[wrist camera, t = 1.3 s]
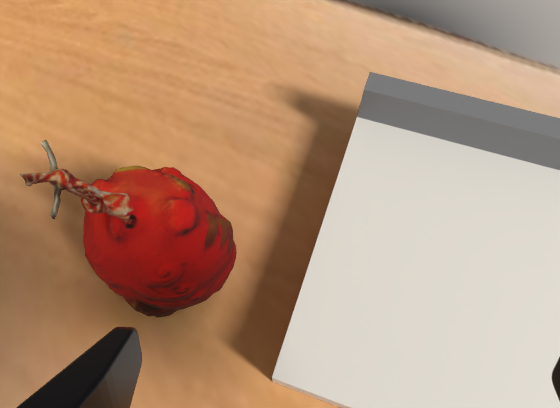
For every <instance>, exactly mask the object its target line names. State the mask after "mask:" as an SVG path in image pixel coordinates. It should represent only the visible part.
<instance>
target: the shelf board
mask: <svg viewBox="0 0 560 408" xmlns="http://www.w3.org/2000/svg"><path fill="white" fill-rule="evenodd" d="M559 357H560V118H556V117H552V116H548V115H543V114H539V113H535V112H531V111H527V110H523V109H519V108H515V107H511V106H507V105H503V104H499V103H494V102H490V101H486V100H482V99H478V98H474V97H470V96H466V95H462V94H458V93H454V92H450V91H446V90H441V89H437V88H433V87H429V86H425V85H421V84H417V83H413V82H409V81H405V80H401V79H397V78H392V77H388V76H384V75H380V74H376V73H372V72H370V73H369V76H368V79H367V82H366V85H365V88H364V92H363V96H362V100H361V104H360V108H359V111H358V115H357V119H356V122H355V125H354V128H353V131H352V134H351V137H350V140H349V143H348V146H347V149H346V152H345V155H344V158H343V162H342V165H341V168H340V171H339V174H338V177H337V180H336V183H335V186H334V189H333V192H332V195H331V198H330V201H329V204H328V207H327V210H326V214H325V217H324V220H323V223H322V226H321V229H320V232H319V235H318V238H317V241H316V244H315V247H314V250H313V253H312V256H311V259H310V262H309V265H308V269H307V272H306V275H305V278H304V281H303V284H302V287H301V290H300V293H299V296H298V299H297V302H296V305H295V308H294V311H293V314H292V317H291V321H290V324H289V327H288V330H287V333H286V336H285V339H284V342H283V345H282V348H281V351H280V354H279V357H278V360H277V363H276V366H275V369H274V372H273V376H272V380H273V382H275V383H277V384H280V385H282V386H285V387H288V388H290V389H293V390H296V391H298V392H301V393H304V394H306V395H309V396H312V397H314V398H317V399H319V400H322V401H325V402H327V403H330V404H333V405H335V406H338V407H341V408H560V401H559V399H558V396H557V394H556V391H555V389H554V386H553V383H552V371H553V369H554V367H555V365H556V363H557V361H558V359H559Z"/></svg>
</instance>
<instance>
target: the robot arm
mask: <svg viewBox="0 0 560 408" xmlns="http://www.w3.org/2000/svg"><path fill="white" fill-rule="evenodd" d="M141 364H142V352H141V347H140V342H139V337H138V332H137V330H136V329H135V328H133V327H116V328H114V329H113V330H112V331H110V332H109V333H108V334H107V335H105V336H104V337H103V338H102V339H100V340H99V341H98V342H97V343H96V344H94V345H93V346H92V347H91V348H89V349H88V350H87V351H86V352H84V353H83V354H82V355H81V356H80V357H78V358H77V359H76V360H75V361H73V362H72V363H71V364H70V365H68V366H67V367H66V368H65V369H63V370H62V371H61V372H60V373H59V374H57V375H56V376H55V377H54V378H52V379H51V380H50V381H49V382H47V383H46V384H45V385H44V386H42V387H41V388H40V389H39V390H38V391H36V392H35V393H34V394H33V395H31V396H30V397H29V398H28V399H26V400H25V401H24V402H23V403H22V404H20V405H19V406H18V407H17V408H130V405H131V401H132V398H133V394H134V390H135V387H136V383H137V379H138V376H139V372H140V368H141ZM552 383H553V386H554V389H555V391H556V394H557V396H558V399H559V401H560V357H559V359H558V361H557V363H556V365H555V367H554V369H553V371H552Z"/></svg>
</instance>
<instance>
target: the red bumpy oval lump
mask: <svg viewBox="0 0 560 408" xmlns="http://www.w3.org/2000/svg"><path fill="white" fill-rule="evenodd" d="M41 145H42V146H43V148H44V149H45V150H46V152H47V154H48V158H49V162H50V166H51V167H50V172H49V173H32V174H20V175H21V176H22V177H23V178H24V180H25V182H26V185H27V186H31V185H32V184H33V183H34V184H36V183H42V182H49V183H51V184H52V185H53V186H54V187H55V191H54V203H53V208H52V212H51V217H52V218H53V219H55V217H56V215H57V212H58V207H59V204H60V194H61V190H67V191H69V192H71V193H73V194H75V195H77V196H79V197H81V202H82V205H83V207H84V208H85V210H86V211H85V218H84V241H83V242H84V247H85V255H86V257H87V259H88V261H89V263H90V265H91V266H92V268H93V269H94V271H95V273H96V274H97V275H98V276H99V277H100V278H101V279H102V280H103V281H104V282H106V284H107V285H108V286H109V288H110V289H112V290H113V291H114V292H116V293H117V294H119V295H121V296H123V297H124V298H125V300H126V301H127V302H128V303H129V304H130V305H131V306H132V307H133V308H134V309H135V310H136V311H138V312H141V313H143V314H145V315H147V316H155V317H165V316H169V315H171V314H173V313H174V312H175V311H177V310H179V309H184V308H187V307H190V306H193V305H195V304H198V303H200V302H203V301H205V300H207V299H208V298H209V297H210V296H211V295H212V294H213V293H215V292H217V291H219V290H220V289H221V288H222V286H223V284H224V283H225V281H226V279H227V278H228V276H229V274H230V272H231V270H232V269H233V266H234V263H235V259H236V246H235V243H234V241H233V229H232V226H231V223H230V222H229V221H228V220H227V219H226V218H225V217H223V216H222V215H221V214H220V213H219V211H218V209H217V207H216V205H215V203H214V202H213V200H212V199H211V198H210V197H209V196H208V195H207V194H206V193H205V191H204V190H203V189H202V188H201V187H200V186H199V185H197V184H196V183H194V182H193V181H192V180H190V179H189V178H187V177H185V176H184V175H182V173H181V172H180V171H179V170H177V169H175V168H174V167H173V168H168V167H163V168H161V169H156V170H150V169H148V168H145V167H141V166H131V167H125V168H120V169H116V171H115V172H114V174H113V175H112V176H111V178H109V179H108V180H103V179H97V180H96V181H94V182H93V183H92V184H91V185H90V184H88V183H86V182H84V181H81V180H79V179H77V178H75V177H74V176H73V175H72V174H70V173H69V172H68V171H67V170H64V169H58V168H57V163H56V159H55V156H54V154H53V152H52V150H51V148H50V146H49V144H48V142H47V140H44V141H42V142H41Z"/></svg>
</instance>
